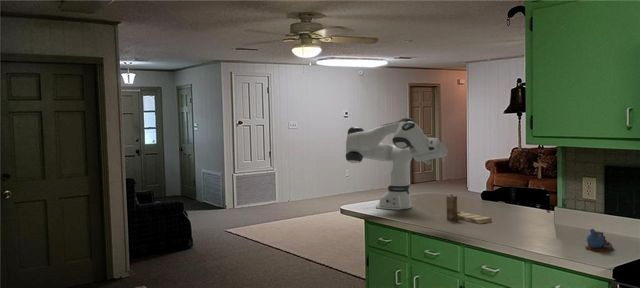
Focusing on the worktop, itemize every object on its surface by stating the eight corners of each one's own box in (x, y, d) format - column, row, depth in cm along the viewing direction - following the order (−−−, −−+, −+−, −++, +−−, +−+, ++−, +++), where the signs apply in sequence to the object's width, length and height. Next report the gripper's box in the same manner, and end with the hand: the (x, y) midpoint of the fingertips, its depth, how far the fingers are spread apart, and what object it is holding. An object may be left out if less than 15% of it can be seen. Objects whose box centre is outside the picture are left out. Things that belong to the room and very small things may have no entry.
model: (602, 253, 218) (602, 231, 218) (580, 249, 226) (580, 227, 225) (617, 248, 225) (617, 226, 224) (596, 244, 232) (596, 223, 232)
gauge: (451, 220, 292) (451, 195, 291) (446, 219, 295) (446, 194, 294) (462, 218, 295) (462, 193, 295) (457, 217, 299) (457, 192, 298)
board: (491, 221, 285) (491, 217, 285) (479, 223, 280) (479, 220, 280) (459, 214, 306) (459, 211, 306) (447, 216, 301) (447, 213, 301)
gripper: (406, 153, 290) (419, 169, 296) (437, 146, 276) (451, 163, 282) (409, 145, 294) (423, 161, 300) (440, 137, 279) (454, 155, 285)
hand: (437, 162), depth 290 cm, fingers open, 8 cm apart
